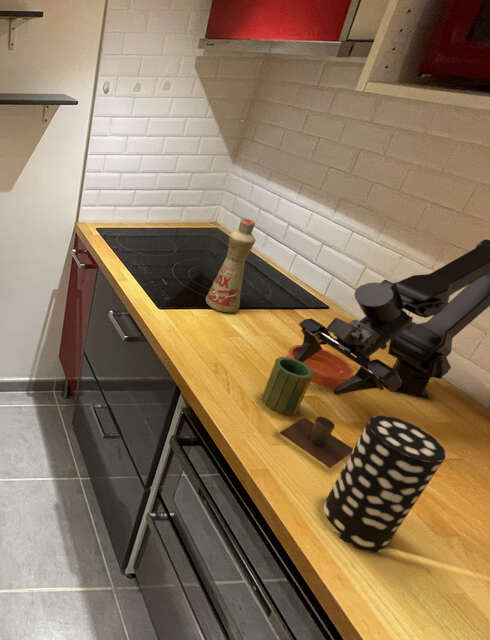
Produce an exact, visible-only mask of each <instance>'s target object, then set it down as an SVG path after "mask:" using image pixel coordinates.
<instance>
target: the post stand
mask: <svg viewBox="0 0 490 640" xmlns="http://www.w3.org/2000/svg"><path fill="white" fill-rule="evenodd" d="M335 427H336V426H335V423H334V422H333V421H332V420H330V419H329V418H326V417H323V416H318V417H316V418H315V421H314V422H312V421H311V420H309V419H307V418H306V417H302V418H301V419H299V420H298V421H296V422H295V423H293V424H291V425H290V426H288V427H286V428H285V429H283V430H281V431H280V432H279V434H280V435H281V436H283V437H284V438H286V439H287V440H288V441H290V442H291V443H293V444H295V445H296V446H297V447H299V448H300V449H301V450H303V451H304V452H306V453H307V454H309V455H310V456H312V457H313V458H314V459H316V460H317V461H319V462H320V463H321V464H323V465H324V466H326V467H327V468H328V469H331V468H333V467H335V465H337V464H338V463H340V462H342V460H343V459H345V458H347V456H348V457H349V456H350V454H351V453H352V451H353V449H354V447H353V448H352V447H351V446H349V445H348V444H346V443H345V442H343V441H342V440H340V439H338V438H337V437H336V436H335V435H333V434H332V433H333V431H334V429H335Z"/></svg>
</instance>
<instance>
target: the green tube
mask: <svg viewBox="0 0 490 640" xmlns="http://www.w3.org/2000/svg"><path fill="white" fill-rule="evenodd" d="M312 377H313V371H312V370H311V369H310V368H309V367H308V366H307V365H306V364H304V363H302V362H301V361H298V360H296V359H293V358H289V357H287V356H280V357H277V358H276V359H275V360H274V363H273V365H272V368H271V370H270V373H269V376H268V379H267V381H266V382H265V383H266V384H265V386H264V389H263V391H262V394H261V397H260V398H261V402H262V403H263V404H264V406H265V407H266V408H268V409H269V410H270V411H272V412H274V413H277V414H279V415H283V416H294V415H296V414H297V413H298V411H299V409H300V406H301V404H302V402H303V399H304V398H305V395H306V393H307V390H308V389H309V386H310V384H311V383H312V382H311V380H312Z"/></svg>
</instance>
